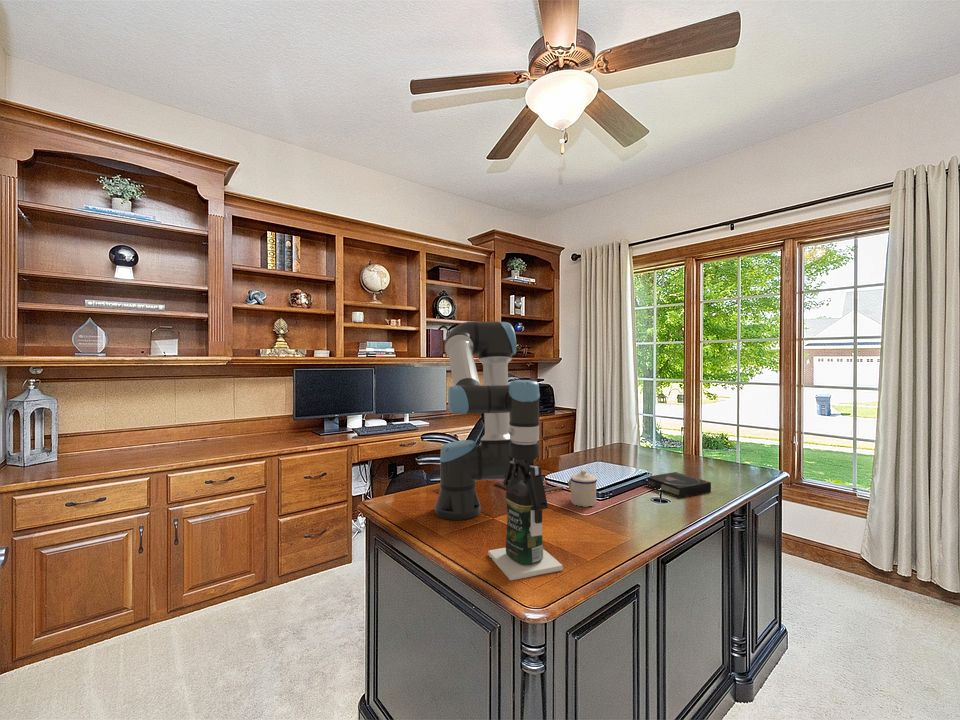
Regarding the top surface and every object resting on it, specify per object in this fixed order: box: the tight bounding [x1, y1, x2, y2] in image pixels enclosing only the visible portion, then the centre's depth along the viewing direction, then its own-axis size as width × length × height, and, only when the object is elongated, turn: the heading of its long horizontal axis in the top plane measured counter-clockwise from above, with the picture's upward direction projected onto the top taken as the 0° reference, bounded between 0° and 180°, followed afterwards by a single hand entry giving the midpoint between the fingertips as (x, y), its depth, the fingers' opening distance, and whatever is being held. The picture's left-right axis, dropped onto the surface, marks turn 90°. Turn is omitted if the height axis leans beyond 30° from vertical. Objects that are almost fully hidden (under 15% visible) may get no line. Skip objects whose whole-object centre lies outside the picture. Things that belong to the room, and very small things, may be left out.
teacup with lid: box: [567, 469, 598, 508], centre depth 158 cm, size 12×9×12 cm
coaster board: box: [487, 547, 564, 581], centre depth 112 cm, size 14×14×1 cm
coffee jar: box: [505, 482, 544, 565], centre depth 112 cm, size 10×8×19 cm
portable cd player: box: [645, 471, 712, 499], centre depth 173 cm, size 16×17×4 cm
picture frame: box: [495, 472, 563, 493], centre depth 177 cm, size 20×2×25 cm
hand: (523, 524), depth 113 cm, fingers open, 13 cm apart
